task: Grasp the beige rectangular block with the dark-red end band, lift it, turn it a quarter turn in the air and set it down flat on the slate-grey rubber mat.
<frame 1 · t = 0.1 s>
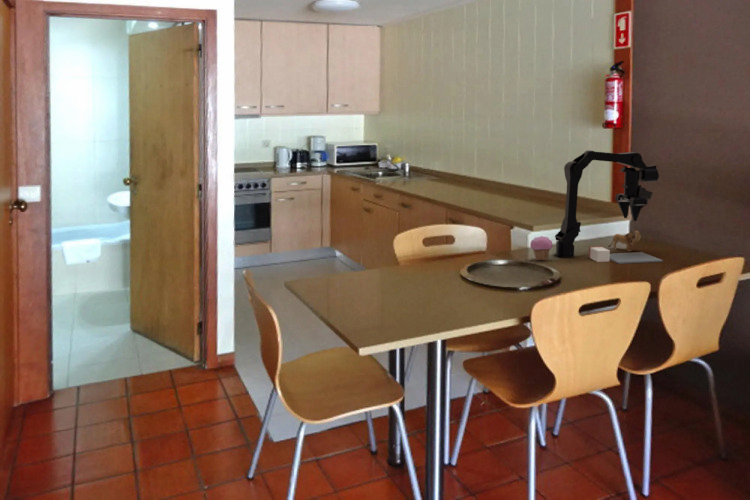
hand: (630, 219, 283), 15 cm above the table, fingers open, 9 cm apart
beige rectangular block: (599, 259, 275), on the table
mat: (630, 258, 275), on the table
cupcake: (541, 260, 277), on the table
lion figurine: (624, 250, 294), on the table
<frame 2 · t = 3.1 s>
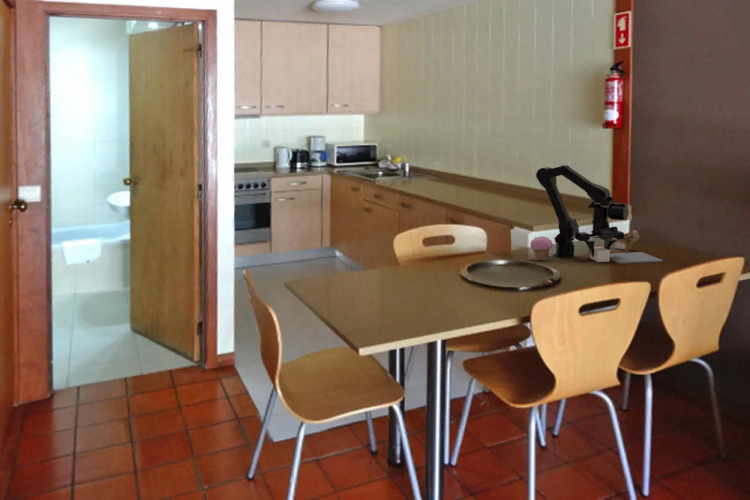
hand: (599, 256, 274), 1 cm above the table, fingers closed on beige rectangular block, 5 cm apart
beige rectangular block: (599, 259, 275), on the table, touching gripper
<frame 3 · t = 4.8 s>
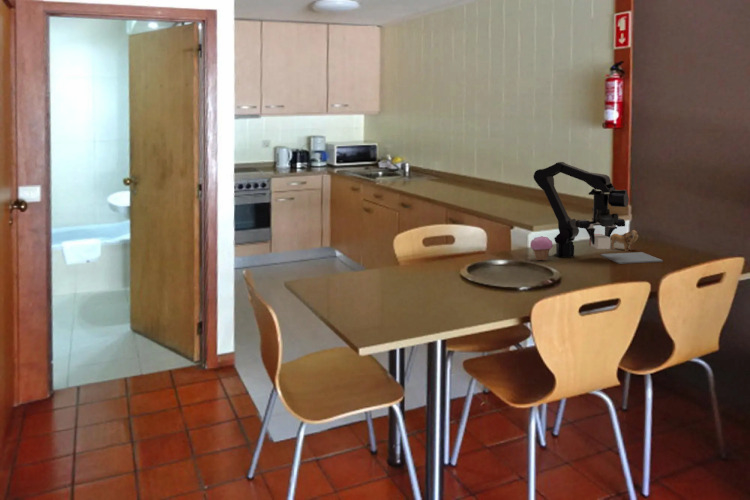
hand: (599, 243, 273), 6 cm above the table, fingers closed on beige rectangular block, 5 cm apart
beige rectangular block: (599, 246, 274), point 5 cm above the table, touching gripper
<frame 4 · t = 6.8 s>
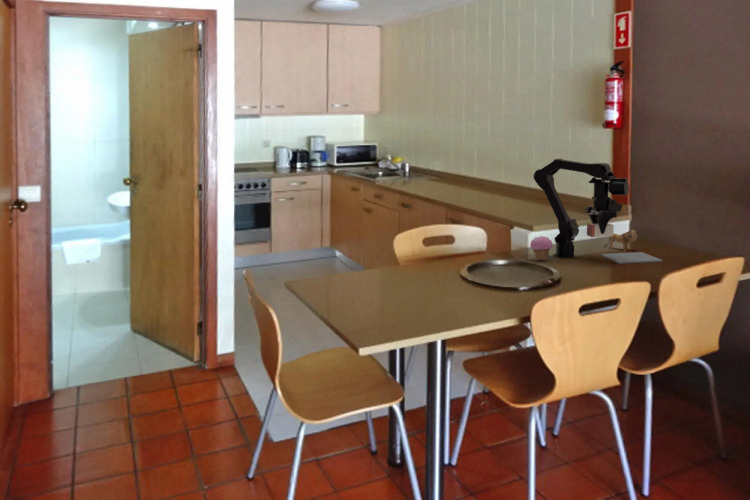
hand: (599, 232, 273), 11 cm above the table, fingers closed on beige rectangular block, 5 cm apart
beige rectangular block: (599, 235, 273), point 10 cm above the table, touching gripper
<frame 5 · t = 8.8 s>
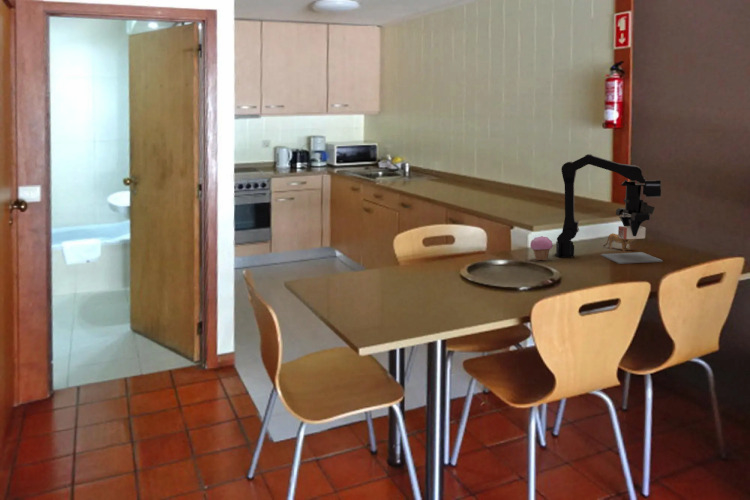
hand: (631, 235, 273), 10 cm above the table, fingers closed on beige rectangular block, 5 cm apart
beige rectangular block: (631, 237, 273), point 9 cm above the table, touching gripper
when the fingers open (3 cm above the table, at t = 10.6 s): beige rectangular block drops 1 cm, resting on mat.
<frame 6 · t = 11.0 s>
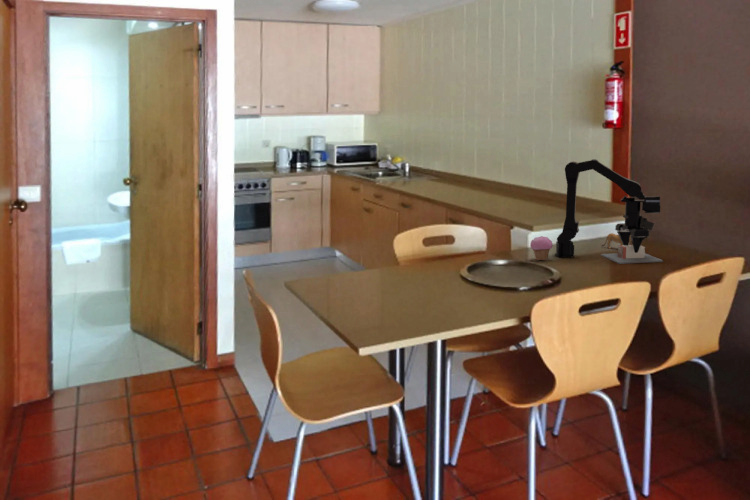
hand: (631, 250, 274), 3 cm above the table, fingers open, 9 cm apart
beige rectangular block: (630, 257, 274), point 1 cm above the table, touching mat
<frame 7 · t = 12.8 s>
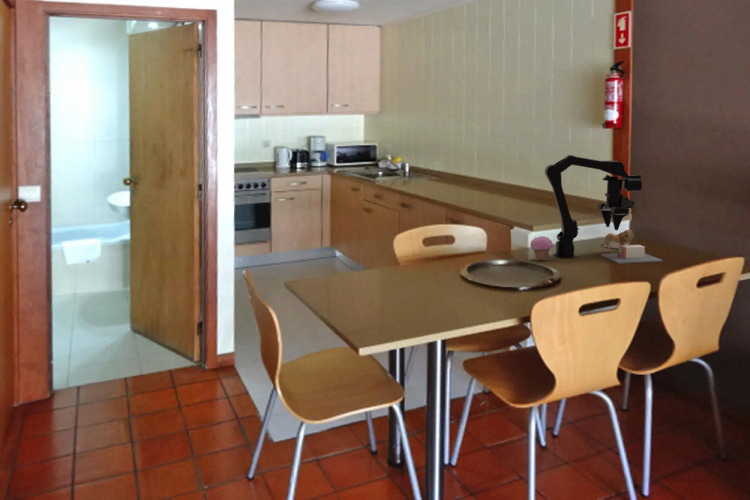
hand: (612, 228, 279), 12 cm above the table, fingers open, 9 cm apart
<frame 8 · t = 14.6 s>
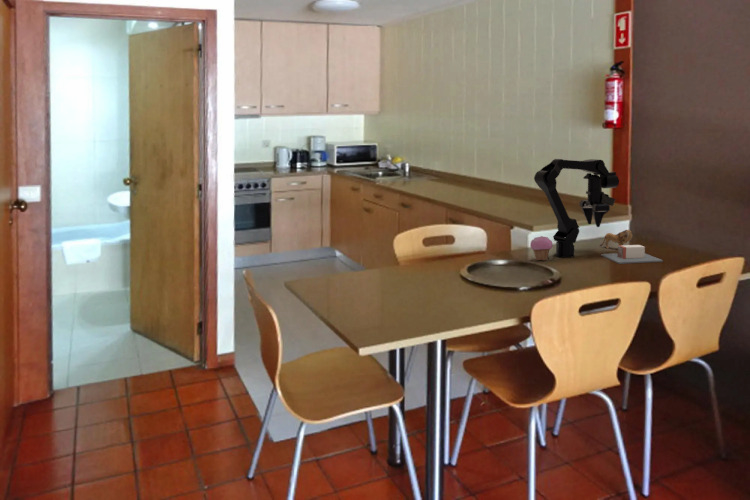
hand: (593, 225, 286), 12 cm above the table, fingers open, 9 cm apart
at the end: beige rectangular block inside the target area on the mat (0.0 cm from its centre), point 0.6 cm above the mat's base; beige rectangular block tilted 0°; the gripper is holding nothing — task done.
